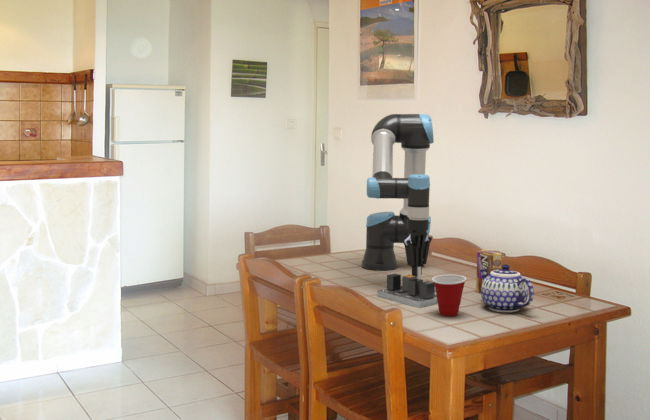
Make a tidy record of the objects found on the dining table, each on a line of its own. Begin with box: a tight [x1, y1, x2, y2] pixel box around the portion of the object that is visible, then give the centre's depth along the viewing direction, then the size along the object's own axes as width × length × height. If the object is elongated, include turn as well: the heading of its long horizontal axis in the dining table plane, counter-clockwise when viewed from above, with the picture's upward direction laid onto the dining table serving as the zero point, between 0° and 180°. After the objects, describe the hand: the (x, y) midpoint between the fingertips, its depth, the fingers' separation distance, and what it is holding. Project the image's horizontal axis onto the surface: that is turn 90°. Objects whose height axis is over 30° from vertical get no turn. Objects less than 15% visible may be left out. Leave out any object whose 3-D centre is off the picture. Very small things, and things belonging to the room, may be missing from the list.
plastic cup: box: [431, 274, 467, 317], centre depth 221 cm, size 11×11×12 cm
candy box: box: [475, 249, 503, 294], centre depth 249 cm, size 9×4×15 cm, turn 26°
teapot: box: [479, 263, 535, 313], centre depth 229 cm, size 25×15×15 cm, turn 25°
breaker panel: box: [376, 273, 438, 309], centre depth 243 cm, size 20×20×7 cm
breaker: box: [401, 274, 416, 292], centre depth 244 cm, size 4×3×5 cm
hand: (416, 284), depth 246 cm, fingers closed
